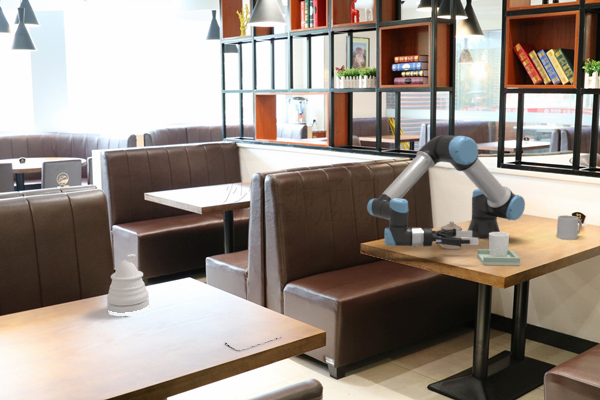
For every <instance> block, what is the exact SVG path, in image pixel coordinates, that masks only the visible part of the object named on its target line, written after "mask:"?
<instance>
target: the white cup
mask: <svg viewBox="0 0 600 400" xmlns="http://www.w3.org/2000/svg"><path fill="white" fill-rule="evenodd" d="M509 242H510V233H508V232H503V231H502V232H501V231H500V232H491V233H489V239H488V249H489V251H490V252H489V256H490V257H507V252H508V250H509Z"/></svg>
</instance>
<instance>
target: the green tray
mask: <svg viewBox="0 0 600 400" xmlns="http://www.w3.org/2000/svg"><path fill="white" fill-rule="evenodd" d="M489 252H490V251H489V248H488V249H487V248H486V249H485V248H482V249H481V248H477V253H476V254H477V258H478V259H479V260H480V262H481V263H482V265H483V266H514V267H516V266H519V267H520V266H521V258H520V256H519V255H518V254H517V253H516V252H515V251H514V250H513V249H508V252H507V257H490V256H489Z"/></svg>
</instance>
